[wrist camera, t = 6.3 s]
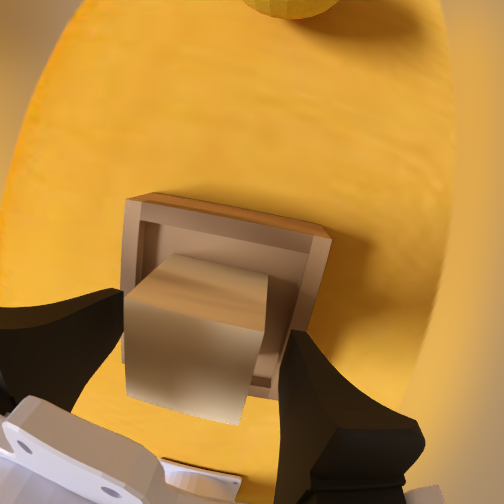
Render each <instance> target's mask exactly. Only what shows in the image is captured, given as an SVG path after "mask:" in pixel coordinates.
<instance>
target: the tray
mask: <svg viewBox="0 0 504 504" xmlns="http://www.w3.org/2000/svg"><path fill="white" fill-rule="evenodd" d="M331 243H332V239H331V237H330V236H329V235H328V233H327V232H326V231H325V230H324V228H323V227H322V226H321V225H319V224H314V223H310V222H305V221H301V220H296V219H291V218H287V217H282V216H277V215H272V214H267V213H263V212H258V211H253V210H248V209H242V208H237V207H232V206H227V205H222V204H216V203H211V202H206V201H200V200H194V199H189V198H183V197H177V196H172V195H166V194H160V193H154V192H152V193H148V194H144V195H140V196H136V197H133V198H129V199H126V202H125V212H124V224H123V237H122V254H121V281H120V290H121V291H124V297H125V296H126V295H127V294H128V293H129V292H131V291H132V290H133V289H134V288H135V287H136V286H137V285H138V284H139V283H140V282H141V281H142V280H143V279H145V278H146V277H147V276H148V275H149V274H150V273H151V272H152V271H153V270H154V269H156V268H157V267H158V266H159V265H160V264H161V263H162V262H163V261H164V260H166V259H167V258H168V257H169V256H170V255H171V254H172V253H173V254H177V255H181V256H186V257H190V258H195V259H199V260H204V261H208V262H213V263H217V264H222V265H226V266H231V267H235V268H240V269H244V270H249V271H254V272H258V273H263V274H268V286H267V301H266V316H265V331H264V336H263V339H262V343H261V347H260V350H259V354H258V358H257V362H256V365H255V369H254V372H253V376H252V380H251V383H250V387H249V390H248V394H247V395H248V396H254V397H260V398H266V399H272V400H278V401H279V398H278V380H279V368H280V365H281V361H282V358H283V355H284V352H285V348H286V345H287V342H288V338H289V335H290V332H291V329H293V330H299V331H305V332H306V330H307V327H308V324H309V320H310V317H311V314H312V311H313V307H314V304H315V301H316V297H317V294H318V290H319V287H320V283H321V280H322V276H323V273H324V269H325V266H326V262H327V258H328V254H329V251H330V247H331ZM121 351H122V363H124V364H125V355H124V332H123V334H122V336H121Z"/></svg>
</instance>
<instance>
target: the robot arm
mask: <svg viewBox="0 0 504 504" xmlns="http://www.w3.org/2000/svg"><path fill="white" fill-rule="evenodd" d="M123 332H124V291H121V290H118V289H114V288H108V289H104V290H100V291H96V292H93V293H90V294H86V295H83V296H79V297H76V298H72V299H68V300H65V301H61V302H57V303H52V304H47V305H40V306H32V307H16V308H7V307H0V504H249V503H241V502H235V501H234V499H235V497H236V495H237V492H238V490H239V487H240V485H241V482H242V478H241V477H240V476H235V475H230V474H224V473H219V472H214V471H209V470H204V469H200V468H196V467H191V466H187V465H183V464H180V463H176V462H172V461H169V460H165V459H161V458H159V459H158V458H157V457H156V456H155V455H154V454H153V453H151V452H150V451H149V450H148V449H146V448H145V447H144V446H143V445H141V444H139V443H137V442H135V441H133V440H131V439H129V438H127V437H125V436H123V435H121V434H118V433H115V432H113V431H110V430H108V429H105V428H103V427H100V426H98V425H96V424H93V423H91V422H89V421H86V420H84V419H82V418H80V417H78V416H76V415H73V414H71V411H72V409H73V407H74V405H75V403H76V401H77V399H78V397H79V396H80V394H81V392H82V390H83V389H84V387H85V385H86V384H87V382H88V381H89V380H90V378H91V377H92V376H93V374H94V373H95V372H96V371H97V369H98V368H99V367H100V366H101V364H102V363H103V362H104V361H105V359H106V358H107V357H108V355H109V354H110V353H111V352H112V350H113V349H114V348H115V346H116V344H117V343H118V341H119V339H120V337H121V336H122V334H123ZM278 398H279V414H280V451H279V463H278V473H277V482H276V490H275V497H274V504H445V501H444V499H443V495H442V493H441V490H440V487H439V485H433V486H429V487H423V488H418V489H413V490H410V491H408V492H406V493H403V489H402V486H404V485H405V483H406V480H405V477H404V473H405V472H406V471H407V470H408V469H409V468H410V467H411V466H412V465H413V464H414V463H415V461H416V460H417V459H418V458H419V456H420V455H421V453H422V452H423V450H424V447H425V438H424V436H423V434H422V432H421V429H420V427H419V425H418V423H417V421H416V420H414V419H411V418H409V417H407V416H404V415H402V414H399V413H397V412H395V411H393V410H391V409H389V408H387V407H385V406H383V405H381V404H380V403H378V402H376V401H375V400H373V399H371V398H370V397H369V396H367V395H366V394H364V393H363V392H361V391H360V390H359V389H357V388H356V387H355V386H354V385H352V384H351V383H350V382H349V381H348V380H347V379H346V378H344V377H343V376H342V375H341V374H340V373H339V372H338V371H337V370H336V369H335V367H334V366H333V365H332V364H331V363H330V362H329V361H328V360H327V358H326V357H325V356H324V355H323V354H322V352H321V351H320V350H319V348H318V347H317V346H316V344H315V343H314V342H313V340H312V339H311V338H310V336H309V335H308V334H307V333H306V332H305V331H299V330H293V329H291V332H290V335H289V338H288V342H287V345H286V348H285V352H284V355H283V358H282V361H281V365H280V368H279V380H278Z"/></svg>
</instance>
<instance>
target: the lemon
mask: <svg viewBox="0 0 504 504" xmlns="http://www.w3.org/2000/svg"><path fill="white" fill-rule="evenodd" d="M243 1H244V2H245V3H246V4H247V5H248V6H250V7H251V8H253V9H255V10H257V11H258V12H260V13H263V14H265V15H268V16H271V17H275V18H281V19H303V18H309V17H313V16H315V15H318V14H320V13H323V12H325V11H327V10H328V9H329V8H331V7H332V6H333V5H335V4H336V3H337V2H338V1H339V0H243Z"/></svg>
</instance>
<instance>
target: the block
mask: <svg viewBox="0 0 504 504" xmlns="http://www.w3.org/2000/svg"><path fill="white" fill-rule="evenodd" d="M267 286H268V274H263V273H258V272H254V271H249V270H244V269H240V268H235V267H231V266H226V265H222V264H217V263H213V262H208V261H204V260H199V259H195V258H190V257H186V256H181V255H177V254H173V253H172V254H171V255H170V256H169V257H168V258H167V259H166V260H164V261H163V262H162V263H161V264H160V265H159V266H158V267H157V268H156V269H154V270H153V271H152V272H151V273H150V274H149V275H148V276H147V277H146V278H145V279H143V280H142V281H141V282H140V283H139V284H138V285H137V286H136V287H135V288H134V289H133V290H132V291H131V292H129V293H128V294H127V295H126V296H125V297H124V355H125V376H126V391H127V396H129V397H132V398H135V399H138V400H141V401H144V402H147V403H150V404H153V405H156V406H159V407H163V408H166V409H169V410H173V411H176V412H180V413H184V414H187V415H191V416H195V417H199V418H203V419H208V420H212V421H216V422H221V423H226V424H231V425H236V426H238V425H239V422H240V418H241V415H242V411H243V408H244V404H245V401H246V397H247V394H248V390H249V387H250V383H251V380H252V376H253V372H254V369H255V365H256V362H257V358H258V354H259V350H260V347H261V343H262V339H263V336H264V331H265V316H266V301H267Z"/></svg>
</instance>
